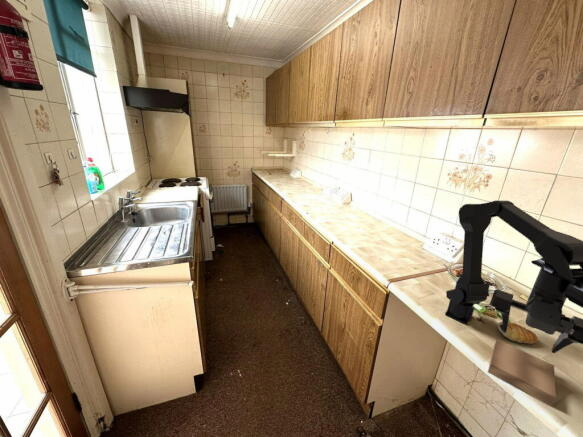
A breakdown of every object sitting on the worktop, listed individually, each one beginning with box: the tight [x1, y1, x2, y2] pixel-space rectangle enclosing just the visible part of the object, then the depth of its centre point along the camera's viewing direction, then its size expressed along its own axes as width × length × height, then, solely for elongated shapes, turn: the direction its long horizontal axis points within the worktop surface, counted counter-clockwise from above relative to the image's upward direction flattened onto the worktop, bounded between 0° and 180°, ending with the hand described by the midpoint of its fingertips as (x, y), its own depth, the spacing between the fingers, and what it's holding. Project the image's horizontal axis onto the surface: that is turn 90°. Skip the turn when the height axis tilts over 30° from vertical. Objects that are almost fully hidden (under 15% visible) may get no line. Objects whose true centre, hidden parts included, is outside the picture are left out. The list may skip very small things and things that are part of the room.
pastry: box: [497, 320, 539, 345], centre depth 77 cm, size 9×7×4 cm
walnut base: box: [487, 338, 557, 407], centre depth 65 cm, size 12×12×3 cm
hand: (527, 341), depth 63 cm, fingers open, 9 cm apart
